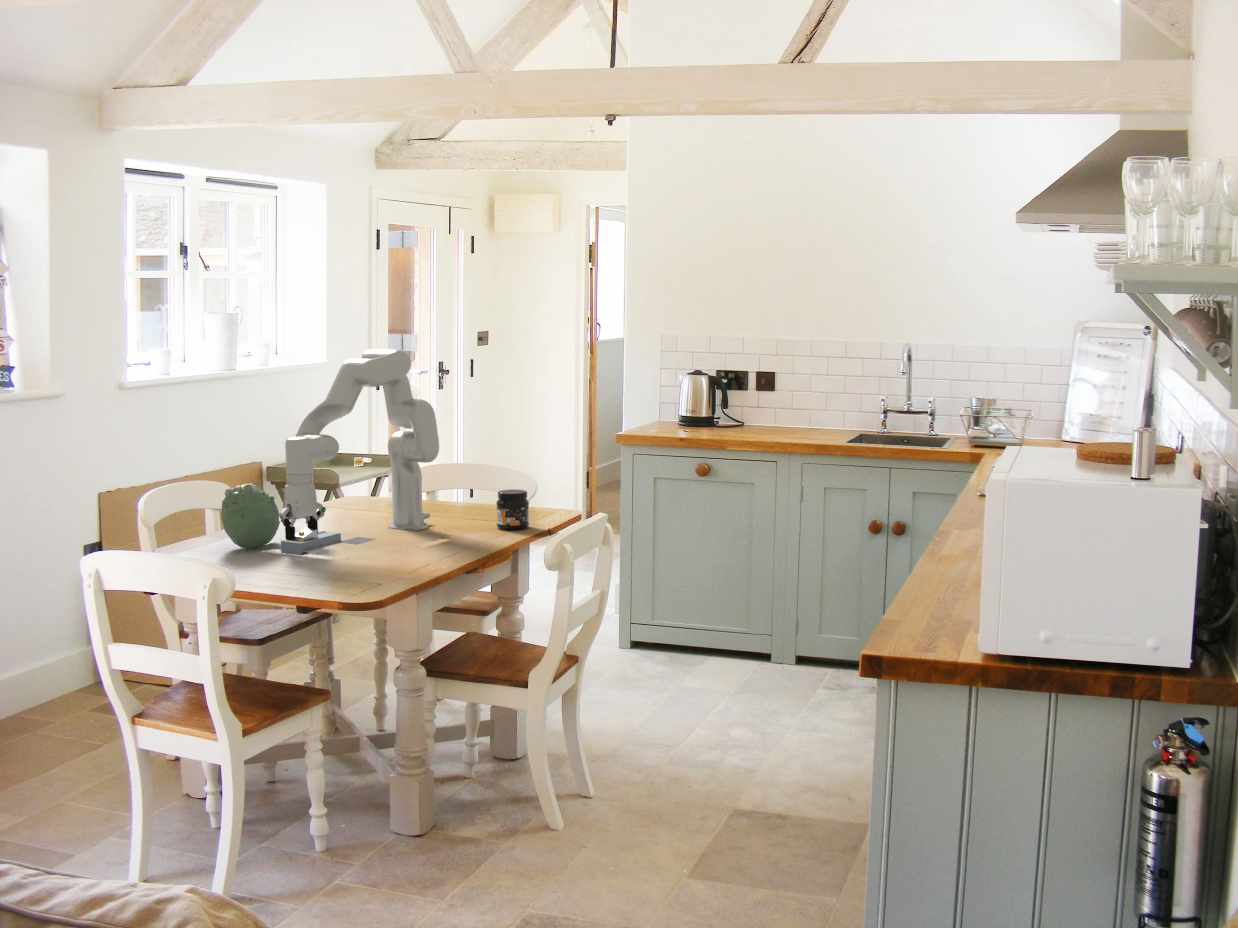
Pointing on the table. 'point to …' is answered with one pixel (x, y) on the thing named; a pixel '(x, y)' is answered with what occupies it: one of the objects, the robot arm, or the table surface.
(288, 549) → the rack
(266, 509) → the green rounded lump
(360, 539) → the flat grey plate
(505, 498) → the supplement container
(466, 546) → the table surface
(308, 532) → the grey small block
